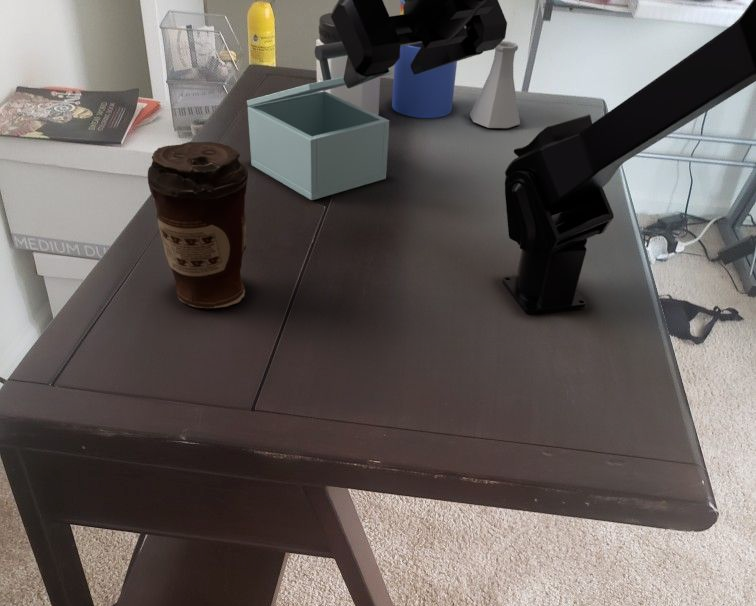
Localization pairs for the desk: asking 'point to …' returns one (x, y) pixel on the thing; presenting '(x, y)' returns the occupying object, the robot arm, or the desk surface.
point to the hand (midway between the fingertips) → (380, 76)
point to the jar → (358, 95)
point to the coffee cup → (201, 219)
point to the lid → (322, 55)
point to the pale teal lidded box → (318, 143)
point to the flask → (498, 92)
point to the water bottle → (422, 86)
